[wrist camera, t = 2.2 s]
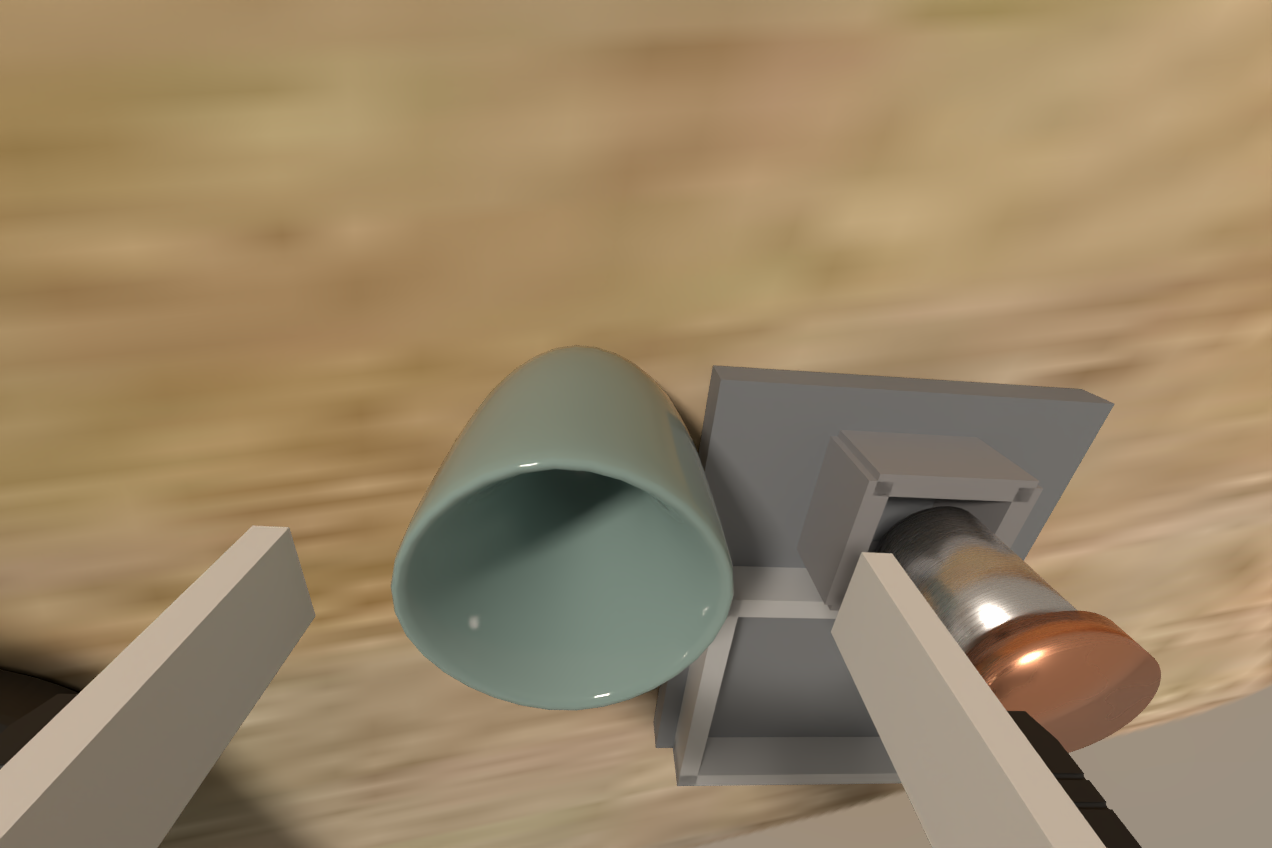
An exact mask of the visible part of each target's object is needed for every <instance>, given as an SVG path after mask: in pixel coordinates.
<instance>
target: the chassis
mask: <svg viewBox="0 0 1272 848" xmlns="http://www.w3.org/2000/svg"><path fill="white" fill-rule="evenodd" d="M1113 406H1114V403H1111V402H1109V401H1107V400H1105V399H1102V398H1100V397H1098V396H1096V395H1094V394H1091V393H1089V392H1087V391H1085V390H1082V389H1070V388H1055V387H1039V386H1024V385H1008V384H993V383H977V382H961V381H946V380H930V379H915V378H899V377H884V376H868V375H853V374H837V373H822V372H806V371H790V370H775V369H759V368H744V367H728V366H713V369H712V375H711V381H710V387H709V393H708V399H707V405H706V411H705V417H704V423H703V429H702V435H701V441H700V447H699V453H698V455H699V458H700V461H701V464H702V466H703V469H704V472H705V475H706V478H707V481H708V484H709V487H710V489H711V492H712V495H713V498H714V501H715V504H716V507H717V510H718V513H719V516H720V519H721V522H722V526H723V529H724V532H725V535H726V538H727V542H728V545H729V549H730V553H731V558H732V563H733V585H734V596H733V599H732V603H731V606H730V610H729V614H728V617H727V619H726V621H725V622H724V624H723V626H722V627H721V629H720V631H719V633H718V634H717V636H716V638H715V639H714V641H713V642H712V643H711V644H710V645H709V646H708V648H707V649H706V650H705V651H704V652H703V653H702V654H701V655H700V656H699V658H698V659H697V660H695V661H694V662H693V663H692V664H690V665H689V666H688V667H687V668H685V669H684V670H683V671H682V672H680V673H679V674H678V675H677V676H675V677H673V678H672V679H670V680H668V681H667V682H665V683H663V684H661V685H660V687H659V693H658V699H657V705H656V711H655V717H654V732H655V744H656V748H673V754H674V762H675V771H676V779H677V786H723V785H802V784H882V783H901V781H900V778H899V776H898V774H897V772H896V770H895V768H894V766H893V764H892V761H891V759H890V757H889V755H888V753H887V751H886V749H885V747H884V744H883V742H882V740H881V738H880V736H879V734H878V732H877V729H876V727H875V725H874V723H873V721H872V719H871V717H870V715H869V712H868V710H867V708H866V706H865V704H864V702H863V700H862V697H861V695H860V693H859V691H858V689H857V687H856V685H855V683H854V680H853V678H852V676H851V674H850V672H849V670H848V668H847V665H846V663H845V661H844V659H843V657H842V655H841V653H840V651H839V648H838V646H837V644H836V642H835V640H834V638H833V636H832V633H831V630H832V627H833V625H834V622H835V620H836V617H837V614H838V612H839V609H840V607H841V604H842V602H843V599H844V596H845V594H846V591H847V589H848V586H849V583H850V581H851V578H852V576H853V573H854V570H855V568H856V565H857V563H858V560H859V557H860V555H861V552H869V553H875V552H876V549H877V547H878V545H879V543H880V541H881V539H882V538H883V537H884V535H885V534H886V533H887V532H888V531H889V530H890V529H891V528H892V527H893V526H894V525H895V524H897V523H898V522H899V521H901V520H902V519H904V518H906V517H907V516H909V515H911V514H913V513H916V512H918V511H921V510H924V509H928V508H932V507H939V506H952V507H958V508H962V509H964V510H967V511H968V512H970V513H972V514H973V515H974V516H975V517H976V518H977V519H979V520H980V521H981V522H982V523H983V524H984V525H985V526H986V527H987V528H988V529H989V530H990V531H992V532H993V533H994V534H995V535H996V536H997V537H998V538H999V539H1000V540H1001V541H1002V542H1004V543H1005V544H1006V545H1007V546H1008V547H1009V548H1010V549H1011V550H1012V551H1013V552H1014V553H1015V554H1017V555H1018V556H1019V557H1020V558H1021V559H1022V560H1023V561H1024V559H1025V557H1026V556H1027V554H1028V552H1029V550H1030V549H1031V547H1032V545H1033V544H1034V542H1035V540H1036V538H1037V537H1038V535H1039V533H1040V532H1041V530H1042V528H1043V526H1044V525H1045V523H1046V521H1047V519H1048V518H1049V516H1050V514H1051V513H1052V511H1053V509H1054V507H1055V506H1056V504H1057V502H1058V501H1059V499H1060V497H1061V495H1062V494H1063V492H1064V490H1065V488H1066V487H1067V485H1068V483H1069V482H1070V480H1071V478H1072V476H1073V475H1074V473H1075V471H1076V469H1077V468H1078V466H1079V464H1080V463H1081V461H1082V459H1083V457H1084V456H1085V454H1086V452H1087V451H1088V449H1089V447H1090V445H1091V444H1092V442H1093V440H1094V438H1095V437H1096V435H1097V433H1098V432H1099V430H1100V428H1101V426H1102V425H1103V423H1104V421H1105V420H1106V418H1107V416H1108V414H1109V413H1110V411H1111V409H1112V407H1113Z"/></svg>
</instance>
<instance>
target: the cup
mask: <svg viewBox="0 0 1272 848" xmlns="http://www.w3.org/2000/svg"><path fill="white" fill-rule="evenodd" d="M391 591H392V598H393V605H394V611H395V613H396V615H397V617H398V619H399V622H400V624H401V626H402V628H403V630H404V632H405V634H406V636H407V637H408V638H409V639H410V640H411V641H412V643H413V644H414V645H415V646H416V647H417V649H418V650H419V651H420V652H421V653H422V654H423V655H424V656H425V657H426V658H427V659H429V660H430V661H431V662H432V663H433V664H435V665H436V666H437V667H438V668H440V669H441V670H442V671H443V672H445V673H446V674H448V675H450V676H451V677H453V678H455V679H457V680H458V681H460V682H462V683H463V684H465V685H467V686H468V687H471V688H473V689H475V690H478V691H480V692H482V693H485V694H487V695H489V696H492V697H494V698H498V699H501V700H504V701H508V702H511V703H515V704H518V705H522V706H528V707H535V708H541V709H547V710H582V709H590V708H598V707H604V706H608V705H611V704H615V703H619V702H622V701H626V700H629V699H632V698H634V697H636V696H639V695H641V694H643V693H646V692H648V691H650V690H653V689H655V688H656V687H658V686H660V685H661V684H663V683H665V682H667V681H668V680H670V679H672V678H673V677H675V676H677V675H678V674H679V673H680V672H682V671H683V670H684V669H685V668H687V667H688V666H689V665H690V664H692V663H693V662H694V661H695V660H697V659H698V658H699V656H700V655H701V654H702V653H703V652H704V651H705V650H706V649H707V648H708V646H709V645H710V644H711V643H712V642H713V641H714V639H715V638H716V636H717V634H718V633H719V631H720V629H721V627H722V626H723V624H724V622H725V621H726V619H727V617H728V614H729V610H730V606H731V603H732V599H733V596H734V585H733V563H732V558H731V553H730V549H729V545H728V542H727V538H726V535H725V532H724V529H723V526H722V522H721V519H720V516H719V513H718V510H717V507H716V504H715V501H714V498H713V495H712V492H711V489H710V487H709V484H708V481H707V478H706V475H705V472H704V469H703V466H702V464H701V461H700V458H699V455H698V452H697V450H696V447H695V445H694V442H693V440H692V437H691V435H690V433H689V431H688V428H687V427H686V425H685V423H684V421H683V419H682V417H681V416H680V414H679V412H678V411H677V409H676V408H675V406H674V404H673V403H672V401H671V400H670V398H669V397H668V395H667V394H666V393H665V392H664V391H663V389H662V388H661V387H660V386H659V385H658V384H657V383H656V382H655V381H654V379H653V378H652V377H651V376H649V375H648V374H647V373H646V372H645V371H643V370H642V369H641V368H640V367H638V366H637V365H636V364H634V363H633V362H631V361H629V360H628V359H626V358H624V357H622V356H620V355H618V354H616V353H614V352H610V351H607V350H604V349H601V348H598V347H591V346H580V345H574V346H566V347H559V348H555V349H552V350H550V351H547V352H544V353H541V354H539V355H537V356H535V357H534V358H532V359H530V360H529V361H527V362H525V363H524V364H522V365H520V366H519V367H517V368H516V369H514V370H513V371H512V372H511V373H510V374H509V375H508V376H507V377H506V378H504V379H503V380H502V381H501V382H500V383H499V384H498V385H497V386H496V387H495V388H494V389H493V390H492V391H491V392H490V393H489V395H488V396H487V397H486V398H485V400H484V401H483V402H482V404H481V405H480V406H479V407H478V409H477V410H476V411H475V413H474V414H473V415H472V417H471V418H470V420H469V421H468V422H467V424H466V425H465V427H464V428H463V430H462V431H461V433H460V434H459V436H458V437H457V439H456V441H455V442H454V444H453V446H452V447H451V449H450V451H449V452H448V454H447V456H446V457H445V459H444V461H443V463H442V464H441V466H440V468H439V469H438V471H437V473H436V475H435V476H434V478H433V480H432V482H431V483H430V485H429V487H428V489H427V491H426V492H425V494H424V496H423V498H422V500H421V501H420V503H419V505H418V507H417V509H416V511H415V513H414V515H413V517H412V520H411V522H410V524H409V526H408V528H407V530H406V532H405V535H404V537H403V539H402V541H401V543H400V546H399V548H398V551H397V554H396V558H395V563H394V569H393V575H392V581H391Z"/></svg>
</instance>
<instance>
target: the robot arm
mask: <svg viewBox="0 0 1272 848" xmlns="http://www.w3.org/2000/svg"><path fill="white" fill-rule="evenodd" d="M314 617H315V612H314V609H313V606H312V602H311V599H310V595H309V592H308V589H307V585H306V582H305V579H304V575H303V572H302V569H301V565H300V562H299V559H298V555H297V552H296V549H295V545H294V542H293V539H292V535H291V532H290V528H289V527H271V526H252V527H251V528H250V529H249V530H248V531H247V532H246V533H245V534H244V535H243V536H241V537H240V538H239V539H238V540H237V541H236V542H235V543H234V544H233V545H232V546H231V547H230V548H229V549H228V550H227V551H226V552H225V553H224V554H223V555H222V556H221V557H220V558H219V559H218V560H217V561H216V562H215V563H214V564H212V565H211V566H210V567H209V568H208V569H207V570H206V571H205V572H204V573H203V574H202V575H201V576H200V577H199V578H198V579H197V580H196V581H195V582H194V583H193V584H192V585H191V586H190V587H189V588H188V589H187V590H186V591H185V592H183V593H182V594H181V595H180V596H179V597H178V598H177V599H176V600H175V601H174V602H173V603H172V604H171V605H170V606H169V607H168V608H167V609H166V610H165V611H164V612H163V613H162V614H161V615H160V616H159V617H158V618H157V619H156V620H154V621H153V622H152V623H151V624H150V625H149V626H148V627H147V628H146V629H145V630H144V631H143V632H142V633H141V634H140V635H139V636H138V637H137V638H136V639H135V640H134V641H133V642H132V643H131V644H130V645H129V646H128V647H127V648H126V649H124V650H123V651H122V652H121V653H120V654H119V655H118V656H117V657H116V658H115V659H114V660H113V661H112V662H111V663H110V664H109V665H108V666H107V667H106V668H105V669H104V670H103V671H102V672H101V673H100V674H99V675H98V676H97V677H95V678H94V679H93V680H92V681H91V682H90V683H89V684H88V685H87V686H86V687H85V688H84V689H83V690H82V691H81V692H80V693H77V692H75V691H73V690H70V689H67V688H65V687H62V686H59V685H56V684H53V683H51V682H47V681H44V680H41V679H37V678H34V677H30V676H26V675H23V674H18V673H14V672H9V671H4V670H0V848H158V846H159V845H160V844H161V842H162V841H163V839H164V838H165V836H166V835H167V833H168V832H169V830H170V829H171V827H172V826H173V824H174V823H175V822H176V820H177V819H178V817H179V816H180V814H181V813H182V811H183V810H184V808H185V807H186V805H187V804H188V802H189V801H190V799H191V798H192V797H193V795H194V794H195V792H196V791H197V789H198V788H199V786H200V785H201V783H202V782H203V780H204V779H205V777H206V776H207V775H208V773H209V772H210V770H211V769H212V767H213V766H214V764H215V763H216V761H217V760H218V758H219V757H220V755H221V754H222V753H223V751H224V750H225V748H226V747H227V745H228V744H229V742H230V741H231V739H232V738H233V736H234V735H235V733H236V732H237V731H238V729H239V728H240V726H241V725H242V723H243V722H244V720H245V719H246V717H247V716H248V714H249V713H250V711H251V710H252V708H253V707H254V706H255V704H256V703H257V701H258V700H259V698H260V697H261V695H262V694H263V692H264V691H265V689H266V688H267V686H268V685H269V684H270V682H271V681H272V679H273V678H274V676H275V675H276V673H277V672H278V670H279V669H280V667H281V666H282V664H283V663H284V662H285V660H286V659H287V657H288V656H289V654H290V653H291V651H292V650H293V648H294V647H295V645H296V644H297V642H298V641H299V640H300V638H301V637H302V635H303V634H304V632H305V631H306V629H307V628H308V626H309V625H310V623H311V622H312V620H313V619H314ZM831 633H832V636H833V638H834V640H835V642H836V644H837V646H838V648H839V651H840V653H841V655H842V657H843V659H844V661H845V663H846V665H847V668H848V670H849V672H850V674H851V676H852V678H853V680H854V683H855V685H856V687H857V689H858V691H859V693H860V695H861V697H862V700H863V702H864V704H865V706H866V708H867V710H868V712H869V715H870V717H871V719H872V721H873V723H874V725H875V727H876V729H877V732H878V734H879V736H880V738H881V740H882V742H883V744H884V747H885V749H886V751H887V753H888V755H889V757H890V759H891V761H892V764H893V766H894V768H895V770H896V772H897V774H898V776H899V778H900V781H901V783H902V785H903V787H904V789H905V791H906V793H907V795H908V798H909V800H910V802H911V804H912V806H913V808H914V810H915V813H916V815H917V817H918V819H919V821H920V823H921V825H922V827H923V830H924V832H925V834H926V836H927V838H928V840H929V842H930V845H931V847H932V848H1141V846H1140V845H1139V843H1138V842H1137V841H1136V840H1135V839H1134V837H1133V836H1132V835H1131V833H1130V832H1129V831H1128V829H1127V828H1126V827H1125V825H1124V824H1123V823H1122V822H1121V821H1120V819H1119V818H1118V817H1117V815H1116V814H1115V813H1114V811H1113V810H1110V809H1108V808H1107V806H1106V801H1105V800H1104V799H1103V797H1102V796H1101V795H1100V793H1099V792H1098V791H1097V790H1096V788H1095V787H1094V786H1093V785H1092V783H1091V782H1090V781H1089V780H1086V779H1085V778H1084V773H1083V772H1082V770H1081V769H1080V768H1079V767H1078V765H1077V764H1076V763H1075V762H1074V760H1073V759H1072V758H1071V756H1070V755H1069V754H1068V752H1067V751H1066V750H1065V749H1064V747H1063V746H1062V745H1061V744H1060V742H1059V741H1058V740H1057V739H1056V738H1055V737H1054V736H1053V735H1052V734H1050V733H1049V732H1048V731H1047V730H1046V729H1045V728H1044V727H1043V726H1041V725H1040V724H1039V723H1038V722H1037V721H1036V720H1035V719H1033V718H1032V717H1031V716H1030V715H1029V714H1028V713H1027V712H1026V711H1006V709H1005V708H1004V707H1003V705H1002V704H1001V702H1000V701H999V700H998V698H997V697H996V696H995V694H994V693H993V691H992V690H991V689H990V687H989V686H988V685H987V683H986V682H985V680H984V679H983V678H982V676H981V675H980V674H979V672H978V671H977V669H976V668H975V667H974V665H973V664H972V663H971V661H970V660H969V658H968V657H967V656H966V654H965V653H964V652H963V650H962V649H961V647H960V646H959V645H958V643H957V642H956V641H955V639H954V638H953V636H952V635H951V634H950V632H949V631H948V630H947V628H946V627H945V625H944V624H943V623H942V621H941V620H940V619H939V617H938V616H937V614H936V613H935V612H934V610H933V609H932V608H931V606H930V605H929V603H928V602H927V601H926V599H925V598H924V597H923V595H922V594H921V593H920V591H919V590H918V588H917V587H916V586H915V584H914V583H913V582H912V580H911V579H910V577H909V576H908V575H907V573H906V572H905V571H904V569H903V568H902V566H901V565H900V564H899V562H898V561H897V560H896V558H895V557H894V555H893V554H892V553H869V552H861V555H860V557H859V560H858V563H857V565H856V568H855V570H854V573H853V576H852V578H851V581H850V583H849V586H848V589H847V591H846V594H845V596H844V599H843V602H842V604H841V607H840V609H839V612H838V614H837V617H836V620H835V622H834V625H833V627H832V630H831Z"/></svg>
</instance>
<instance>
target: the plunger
mask: <svg viewBox="0 0 1272 848" xmlns="http://www.w3.org/2000/svg"><path fill="white" fill-rule="evenodd" d="M875 553H892V554H893V555H894V557H895V558H896V560H897V561H898V562H899V564H900V565H901V566H902V568H903V569H904V571H905V572H906V573H907V575H908V576H909V577H910V579H911V580H912V582H913V583H914V584H915V586H916V587H917V588H918V590H919V591H920V593H921V594H922V595H923V597H924V598H925V599H926V601H927V602H928V603H929V605H930V606H931V608H932V609H933V610H934V612H935V613H936V614H937V616H938V617H939V619H940V620H941V621H942V623H943V624H944V625H945V627H946V628H947V630H948V631H949V632H950V634H951V635H952V636H953V638H954V639H955V641H956V642H957V643H958V645H959V646H960V647H961V649H962V650H963V652H964V653H965V654H966V656H967V657H968V658H969V660H970V661H971V663H972V664H973V665H974V667H975V668H976V669H977V671H978V672H979V674H980V675H981V676H982V678H983V679H984V680H985V682H986V683H987V685H988V686H989V687H990V689H991V690H992V691H993V693H994V694H995V696H996V697H997V698H998V700H999V701H1000V702H1001V704H1002V705H1003V707H1004V708H1005V709H1006V711H1026V712H1027V713H1028V714H1029V715H1030V716H1031V717H1032V718H1033V719H1035V720H1036V721H1037V722H1038V723H1039V724H1040V725H1041V726H1043V727H1044V728H1045V729H1046V730H1047V731H1048V732H1049V733H1050V734H1052V735H1053V736H1054V737H1055V738H1056V739H1057V740H1058V741H1059V742H1060V744H1061V745H1062V746H1063V747H1064V749H1065V750H1066V751H1067V752H1068V753H1069V752H1072V751H1075V750H1078V749H1081V748H1084V747H1086V746H1089V745H1091V744H1093V743H1096V742H1098V741H1100V740H1102V739H1104V738H1106V737H1107V736H1109V735H1111V734H1113V733H1114V732H1116V731H1118V730H1119V729H1121V728H1122V727H1124V726H1125V725H1126V724H1128V723H1129V722H1131V721H1132V720H1133V719H1134V718H1135V717H1136V716H1138V715H1139V714H1140V713H1141V712H1142V711H1143V710H1144V709H1145V708H1146V707H1147V705H1148V704H1149V703H1150V701H1151V700H1152V699H1153V697H1154V695H1155V694H1156V692H1157V690H1158V687H1159V685H1160V679H1161V670H1160V667H1159V664H1158V663H1157V661H1156V660H1155V658H1154V657H1152V656H1151V655H1150V654H1149V653H1148V652H1147V651H1146V650H1144V649H1143V648H1142V647H1141V646H1140V645H1139V644H1138V643H1136V642H1135V641H1134V640H1133V639H1132V638H1131V637H1130V636H1129V635H1127V634H1126V633H1125V632H1124V631H1123V630H1122V629H1121V628H1119V627H1118V626H1117V625H1116V624H1115V623H1114V622H1113V621H1111V620H1110V619H1108V618H1106V617H1105V616H1102V615H1099V614H1096V613H1092V612H1087V611H1077V610H1076V609H1075V608H1074V607H1073V606H1072V605H1071V604H1070V603H1069V602H1068V601H1066V600H1065V599H1064V598H1063V597H1062V596H1061V595H1060V594H1059V593H1058V592H1057V591H1056V590H1055V589H1053V588H1052V587H1051V586H1050V585H1049V584H1048V583H1047V582H1046V581H1045V580H1044V579H1043V578H1042V577H1040V576H1039V575H1038V574H1037V573H1036V572H1035V571H1034V570H1033V569H1032V568H1031V567H1030V566H1028V565H1027V564H1026V563H1025V562H1024V561H1023V560H1022V559H1021V558H1020V557H1019V556H1018V555H1017V554H1015V553H1014V552H1013V551H1012V550H1011V549H1010V548H1009V547H1008V546H1007V545H1006V544H1005V543H1004V542H1002V541H1001V540H1000V539H999V538H998V537H997V536H996V535H995V534H994V533H993V532H992V531H990V530H989V529H988V528H987V527H986V526H985V525H984V524H983V523H982V522H981V521H980V520H979V519H977V518H976V517H975V516H974V515H973V514H972V513H970V512H968V511H967V510H964V509H962V508H958V507H952V506H939V507H932V508H928V509H924V510H921V511H918V512H916V513H913V514H911V515H909V516H907V517H906V518H904V519H902V520H901V521H899V522H898V523H897V524H895V525H894V526H893V527H892V528H891V529H890V530H889V531H888V532H887V533H886V534H885V535H884V537H883V538H882V539H881V541H880V543H879V545H878V547H877V549H876V552H875Z"/></svg>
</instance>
